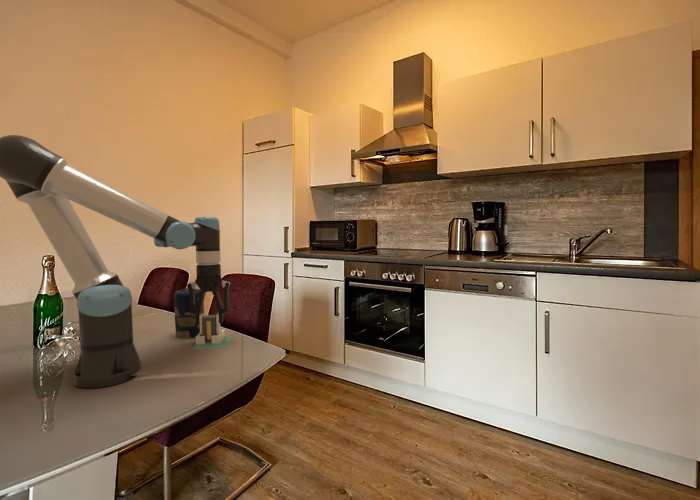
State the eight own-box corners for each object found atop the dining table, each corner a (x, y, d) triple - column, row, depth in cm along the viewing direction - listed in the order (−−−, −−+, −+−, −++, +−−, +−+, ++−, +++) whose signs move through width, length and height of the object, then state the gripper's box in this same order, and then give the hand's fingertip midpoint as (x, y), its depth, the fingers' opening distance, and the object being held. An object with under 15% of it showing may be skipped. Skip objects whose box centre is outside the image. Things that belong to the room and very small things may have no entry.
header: (220, 343, 120) (220, 335, 120) (195, 344, 119) (195, 337, 119) (224, 336, 127) (224, 329, 127) (201, 337, 126) (201, 330, 126)
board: (227, 351, 115) (227, 348, 115) (190, 353, 114) (190, 350, 114) (234, 339, 128) (234, 335, 128) (201, 340, 127) (201, 337, 126)
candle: (197, 341, 125) (196, 289, 124) (170, 342, 126) (168, 289, 124) (209, 333, 135) (207, 285, 134) (183, 333, 135) (181, 285, 134)
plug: (215, 341, 121) (214, 318, 121) (202, 342, 120) (202, 318, 120) (218, 337, 125) (217, 314, 125) (206, 338, 125) (205, 315, 124)
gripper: (237, 262, 126) (239, 328, 128) (183, 263, 124) (186, 331, 125) (234, 264, 119) (235, 335, 120) (176, 265, 116) (179, 337, 118)
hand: (210, 332), depth 123 cm, fingers open, 5 cm apart
